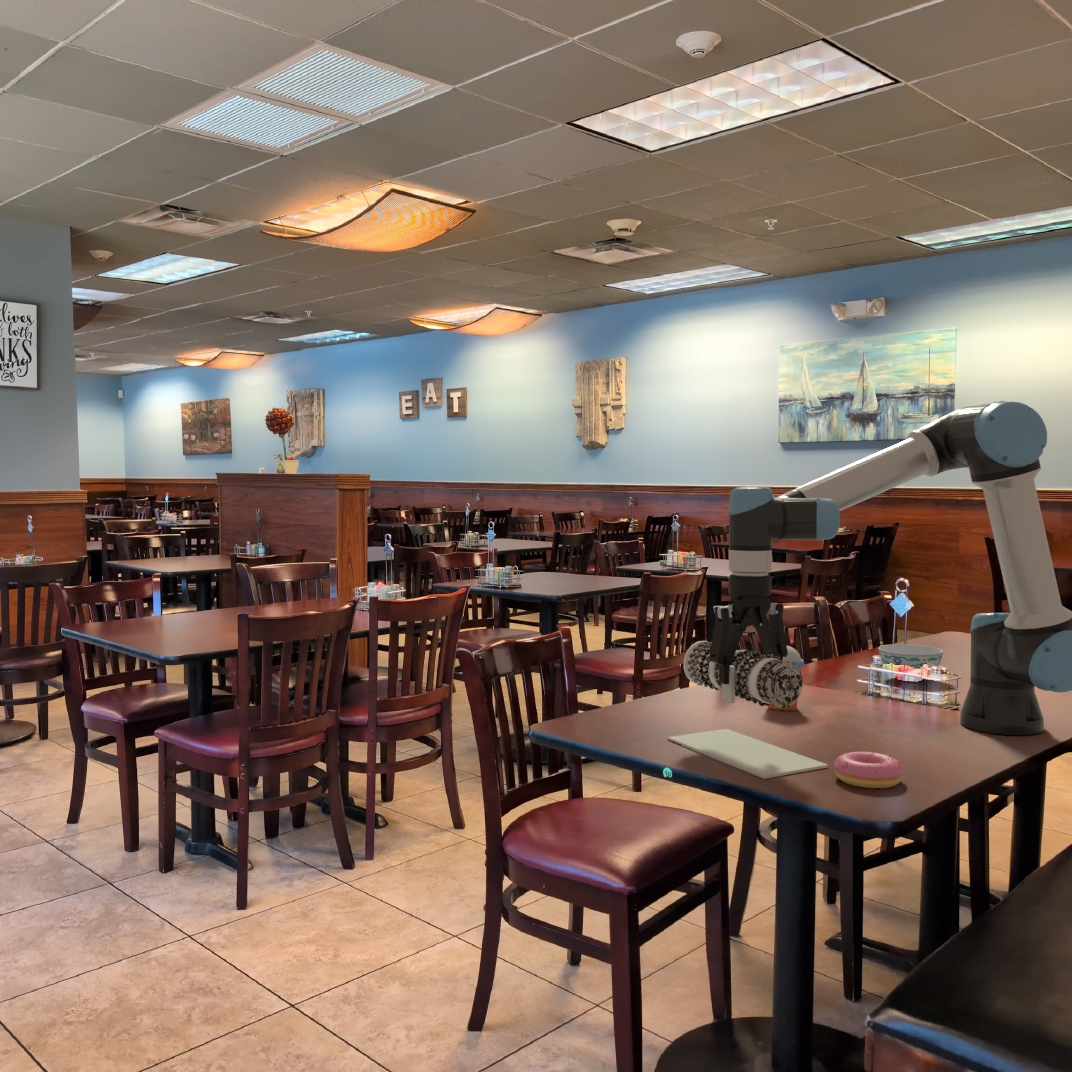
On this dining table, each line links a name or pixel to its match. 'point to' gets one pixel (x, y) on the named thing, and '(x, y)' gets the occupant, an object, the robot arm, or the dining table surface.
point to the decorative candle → (748, 675)
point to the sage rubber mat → (748, 753)
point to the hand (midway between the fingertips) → (748, 699)
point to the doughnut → (868, 769)
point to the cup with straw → (796, 659)
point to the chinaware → (910, 655)
